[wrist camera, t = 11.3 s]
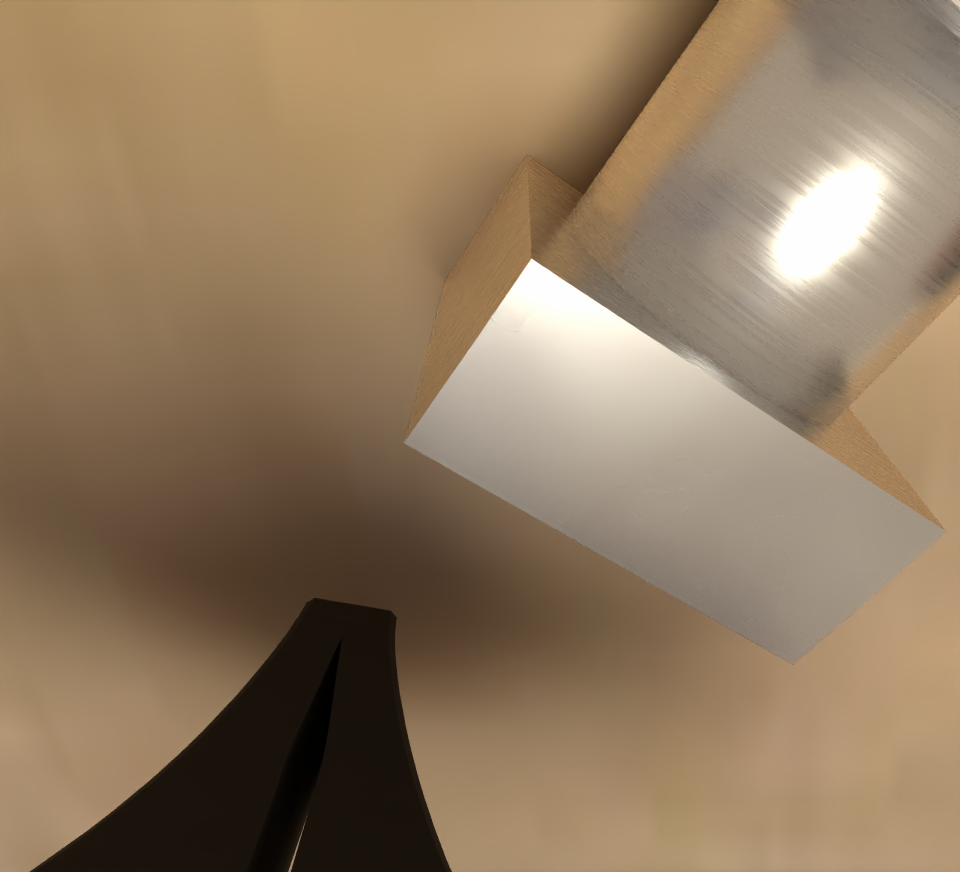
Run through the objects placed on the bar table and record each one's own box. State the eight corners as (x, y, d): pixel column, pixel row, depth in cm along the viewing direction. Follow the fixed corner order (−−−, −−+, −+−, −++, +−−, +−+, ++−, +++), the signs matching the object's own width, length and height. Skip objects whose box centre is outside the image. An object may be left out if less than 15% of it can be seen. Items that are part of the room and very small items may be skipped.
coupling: (703, 444, 12) (793, 664, 8) (445, 281, 11) (403, 442, 7) (1104, 4, 9) (1541, 15, 5) (803, -272, 8) (1069, -516, 4)
